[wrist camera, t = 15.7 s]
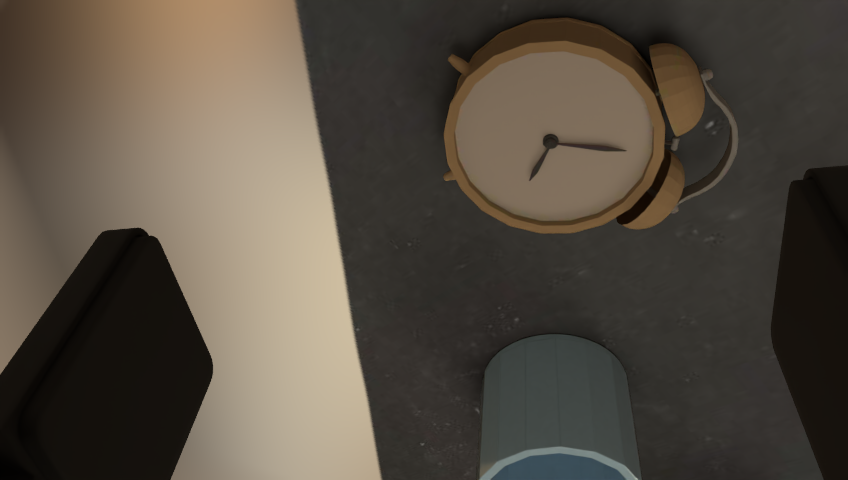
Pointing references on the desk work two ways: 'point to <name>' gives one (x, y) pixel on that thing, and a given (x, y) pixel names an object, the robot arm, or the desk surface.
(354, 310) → the desk surface
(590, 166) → the alarm clock
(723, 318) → the desk surface
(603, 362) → the cup
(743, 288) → the desk surface
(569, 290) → the desk surface
